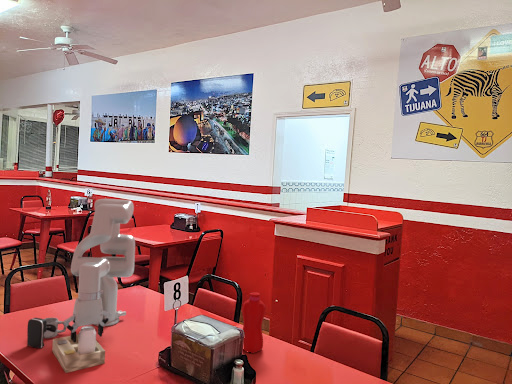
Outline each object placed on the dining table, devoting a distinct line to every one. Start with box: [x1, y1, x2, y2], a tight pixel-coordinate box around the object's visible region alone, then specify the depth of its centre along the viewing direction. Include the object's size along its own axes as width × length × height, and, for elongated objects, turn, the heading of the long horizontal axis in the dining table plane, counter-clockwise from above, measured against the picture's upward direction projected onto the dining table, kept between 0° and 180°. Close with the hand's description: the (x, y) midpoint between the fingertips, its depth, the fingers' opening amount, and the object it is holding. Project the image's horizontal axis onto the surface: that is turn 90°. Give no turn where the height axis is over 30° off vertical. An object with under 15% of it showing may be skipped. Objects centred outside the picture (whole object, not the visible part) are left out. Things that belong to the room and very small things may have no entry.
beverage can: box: [78, 325, 97, 355], centre depth 157 cm, size 6×6×12 cm
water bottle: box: [241, 292, 266, 354], centre depth 178 cm, size 9×11×25 cm
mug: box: [43, 317, 67, 339], centre depth 178 cm, size 10×7×7 cm
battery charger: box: [26, 317, 47, 349], centre depth 166 cm, size 7×4×11 cm, turn 74°
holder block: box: [51, 333, 106, 374], centre depth 159 cm, size 14×20×5 cm
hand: (87, 338), depth 157 cm, fingers open, 9 cm apart
